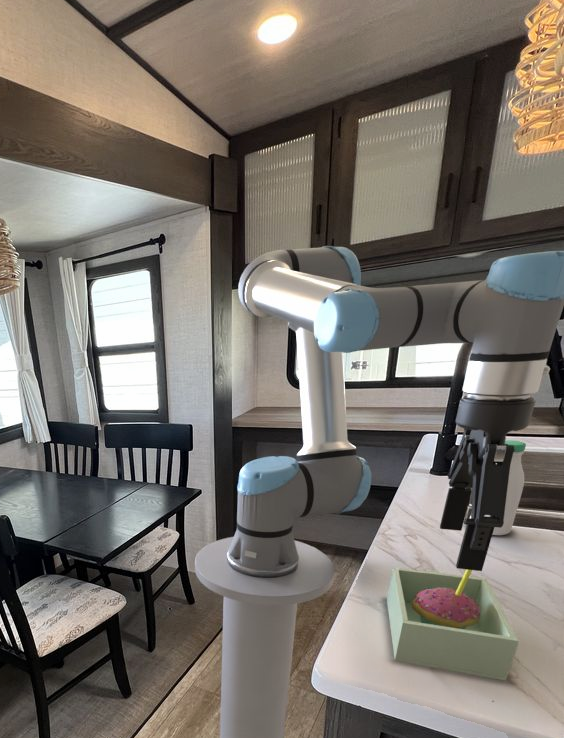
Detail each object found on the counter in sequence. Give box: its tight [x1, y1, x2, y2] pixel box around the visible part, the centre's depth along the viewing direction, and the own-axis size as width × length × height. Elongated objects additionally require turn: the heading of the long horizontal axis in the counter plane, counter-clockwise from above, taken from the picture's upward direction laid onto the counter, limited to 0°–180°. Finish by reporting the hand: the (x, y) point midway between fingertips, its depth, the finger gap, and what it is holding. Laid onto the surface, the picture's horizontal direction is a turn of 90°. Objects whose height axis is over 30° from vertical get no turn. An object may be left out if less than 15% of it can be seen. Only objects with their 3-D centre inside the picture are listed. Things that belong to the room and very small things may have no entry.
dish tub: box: [386, 567, 520, 682], centre depth 72 cm, size 18×13×7 cm
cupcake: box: [412, 569, 481, 629], centre depth 70 cm, size 9×8×12 cm
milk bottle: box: [469, 439, 527, 536], centre depth 102 cm, size 8×8×20 cm
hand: (458, 547), depth 67 cm, fingers open, 13 cm apart
